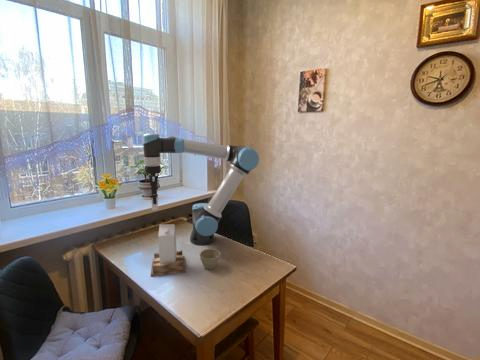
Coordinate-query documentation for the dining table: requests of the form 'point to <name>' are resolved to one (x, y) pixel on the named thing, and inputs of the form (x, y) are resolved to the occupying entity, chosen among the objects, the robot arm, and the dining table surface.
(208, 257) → the flower pot
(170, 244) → the milk carton
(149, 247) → the dining table surface
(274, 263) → the dining table surface
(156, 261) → the display stand
